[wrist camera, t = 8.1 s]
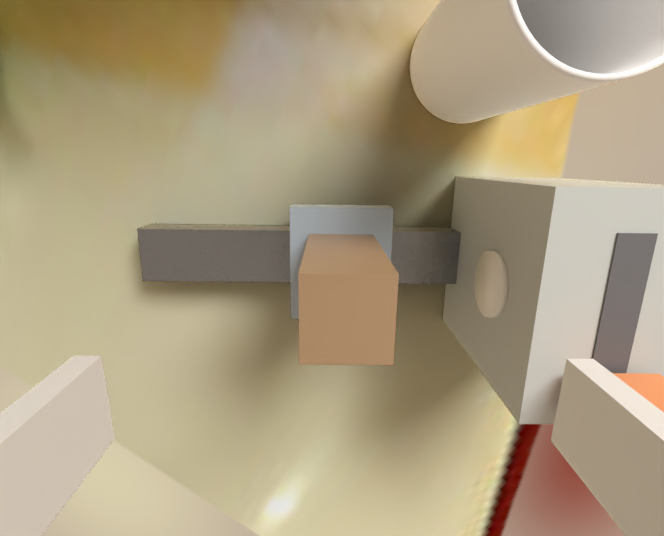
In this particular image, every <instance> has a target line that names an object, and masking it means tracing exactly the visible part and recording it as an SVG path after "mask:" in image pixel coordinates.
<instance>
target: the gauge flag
mask: <svg viewBox="0 0 664 536" xmlns="http://www.w3.org/2000/svg"><path fill="white" fill-rule="evenodd" d="M613 374H614V375H615V376H617V377H618V378H619V379H621V380H622V381H623V382H624V383H626V384H627V385H628V386H630V387H631V388H632V389H634V390H635V391H636V392H638V393H639V394H640V395H642V396H643V397H644V398H645V399H647V400H648V401H649V402H651V403H652V404H653V405H655V406H656V407H657V408H659V409H660V410H661V411H663V412H664V377H663V376H662V375H660V374H647V373H613Z"/></svg>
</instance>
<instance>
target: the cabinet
mask: <svg viewBox="0 0 664 536" xmlns="http://www.w3.org/2000/svg"><path fill="white" fill-rule="evenodd" d="M451 228H453V229H455V230H457V231H459V232H461V239H460V249H459V260H458V270H457V280H456V284H446V288H445V298H444V309H443V321H444V323H445V324H446V325H447V327H448V328H449V329H450V331H451V332H452V334H453V335H454V336H455V338H456V339H457V340H458V342H459V343H460V344H461V346H462V347H463V348H464V350H465V351H466V353H467V354H468V355H469V357H470V358H471V359H472V361H473V362H474V363H475V365H476V366H477V368H478V369H479V370H480V372H481V373H482V374H483V376H484V377H485V378H486V380H487V381H488V383H489V384H490V385H491V387H492V388H493V389H494V391H495V392H496V393H497V395H498V396H499V397H500V399H501V400H502V402H503V403H504V404H505V406H506V407H507V408H508V410H509V411H510V412H511V414H512V415H513V417H514V418H515V419H516V421H517V422H518V423H519V424H554V422H555V416H556V411H557V406H558V401H559V396H560V390H561V385H562V380H563V375H564V370H565V364H566V359H594V360H596V361H597V362H598V363H600V364H601V365H602V366H603V367H605V368H606V369H607V370H609V371H610V372H611V373H647V374H660V375H662V376H663V377H664V185H659V184H644V183H628V182H612V181H596V180H580V179H564V178H518V177H456V179H455V190H454V200H453V211H452V222H451Z"/></svg>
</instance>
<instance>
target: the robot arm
mask: <svg viewBox="0 0 664 536" xmlns="http://www.w3.org/2000/svg"><path fill="white" fill-rule="evenodd" d="M114 439H115V437H114V430H113V424H112V418H111V412H110V406H109V400H108V393H107V387H106V381H105V375H104V369H103V363H102V357H101V356H77V355H74V356H72V357H71V358H70V359H69V360H67V361H66V362H65V363H64V364H62V365H61V366H60V367H58V368H57V369H56V370H55V371H53V372H52V373H51V374H49V375H48V376H47V377H46V378H44V379H43V380H42V381H40V382H39V383H38V384H37V385H35V386H34V387H33V388H32V389H30V390H29V391H28V392H26V393H25V394H24V395H23V396H21V397H20V398H19V399H17V400H16V401H15V402H14V403H12V404H11V405H10V406H9V407H7V408H6V409H5V410H3V411H2V412H1V413H0V536H42V534H43V533H44V532H45V530H46V529H47V528H48V526H49V525H50V524H51V522H52V521H53V520H54V518H55V517H56V516H57V515H58V513H59V512H60V511H61V509H62V508H63V507H64V505H65V504H66V503H67V501H68V500H69V499H70V497H71V496H72V495H73V493H74V492H75V491H76V489H77V488H78V487H79V486H80V484H81V483H82V482H83V480H84V479H85V478H86V476H87V475H88V474H89V472H90V471H91V470H92V468H93V467H94V466H95V464H96V463H97V462H98V460H99V459H100V458H101V456H102V455H103V454H104V452H105V451H106V450H107V449H108V447H109V446H110V445H111V443H112V442H113V441H114ZM551 441H552V443H553V444H554V445H555V446H556V448H557V449H558V450H559V452H560V453H561V454H562V455H563V457H564V458H565V459H566V460H567V462H568V463H569V464H570V465H571V467H572V468H573V469H574V471H575V472H576V473H577V475H579V477H580V478H581V480H582V481H583V482H584V483H585V485H586V486H587V487H588V488H589V490H590V491H591V492H592V494H593V495H594V496H595V497H596V499H597V500H598V501H599V503H600V504H601V505H602V506H603V508H604V509H605V510H606V511H607V513H608V514H609V515H610V517H611V518H612V519H613V520H614V522H615V523H616V524H617V525H618V527H619V528H620V529H621V531H622V532H623V533H624V534H625V535H626V536H664V412H663V411H661V410H660V409H659V408H657V407H656V406H655V405H653V404H652V403H651V402H649V401H648V400H647V399H645V398H644V397H643V396H642V395H640V394H639V393H638V392H636V391H635V390H634V389H632V388H631V387H630V386H628V385H627V384H626V383H624V382H623V381H622V380H621V379H619V378H618V377H617V376H615V375H614V374H613V373H611V372H610V371H609V370H607V369H606V368H605V367H603V366H602V365H601V364H600V363H598V362H597V361H596V360H594V359H566V364H565V370H564V375H563V380H562V385H561V390H560V396H559V401H558V406H557V411H556V416H555V422H554V427H553V432H552V438H551Z"/></svg>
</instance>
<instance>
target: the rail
mask: <svg viewBox="0 0 664 536" xmlns="http://www.w3.org/2000/svg"><path fill="white" fill-rule="evenodd" d="M137 231H138V240H139V249H140V258H141V267H142V275H143V281H211V282H290V225H208V224H150V225H147V226H144V227H141V228H138V229H137ZM460 239H461V232H459V231H457V230H455V229H453V228H451V227H393V232H392V250H391V263H392V264H393V266H394V267H395V269H396V271H397V272H398V274H399V281H398V283H407V284H456V280H457V270H458V260H459V249H460Z"/></svg>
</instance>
